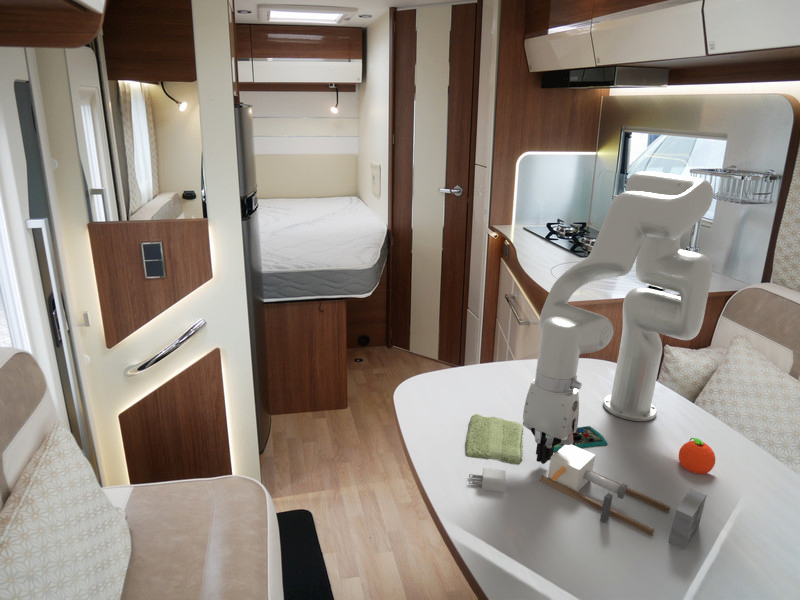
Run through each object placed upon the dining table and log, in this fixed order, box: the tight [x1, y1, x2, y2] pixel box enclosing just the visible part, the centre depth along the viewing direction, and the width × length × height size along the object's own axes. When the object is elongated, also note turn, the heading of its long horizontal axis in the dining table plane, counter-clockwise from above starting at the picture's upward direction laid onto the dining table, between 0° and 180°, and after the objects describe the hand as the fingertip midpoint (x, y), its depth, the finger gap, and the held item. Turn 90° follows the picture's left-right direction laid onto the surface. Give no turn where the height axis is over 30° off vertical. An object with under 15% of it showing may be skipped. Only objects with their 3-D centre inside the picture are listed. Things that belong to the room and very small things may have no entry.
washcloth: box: [465, 413, 524, 465], centre depth 131 cm, size 13×18×3 cm
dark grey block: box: [599, 492, 614, 523], centre depth 106 cm, size 2×1×5 cm, turn 138°
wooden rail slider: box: [539, 471, 708, 550], centre depth 111 cm, size 14×30×8 cm, turn 48°
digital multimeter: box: [547, 425, 609, 453], centre depth 132 cm, size 7×15×3 cm, turn 105°
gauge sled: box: [547, 444, 628, 500], centre depth 113 cm, size 11×14×6 cm
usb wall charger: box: [468, 467, 507, 493], centre depth 116 cm, size 4×7×4 cm, turn 82°
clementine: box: [678, 437, 716, 475], centre depth 124 cm, size 8×7×7 cm
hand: (543, 459), depth 121 cm, fingers closed
